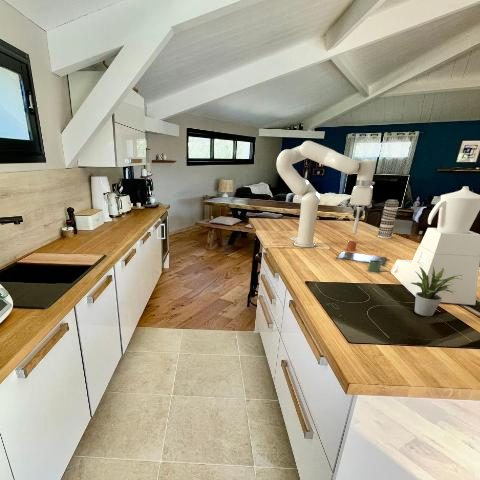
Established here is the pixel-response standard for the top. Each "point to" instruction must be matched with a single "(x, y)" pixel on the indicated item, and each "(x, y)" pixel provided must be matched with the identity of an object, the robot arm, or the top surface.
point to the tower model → (388, 218)
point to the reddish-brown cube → (351, 245)
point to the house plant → (430, 292)
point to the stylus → (356, 220)
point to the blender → (448, 250)
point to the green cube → (374, 266)
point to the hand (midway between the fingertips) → (357, 217)
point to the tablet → (360, 257)
